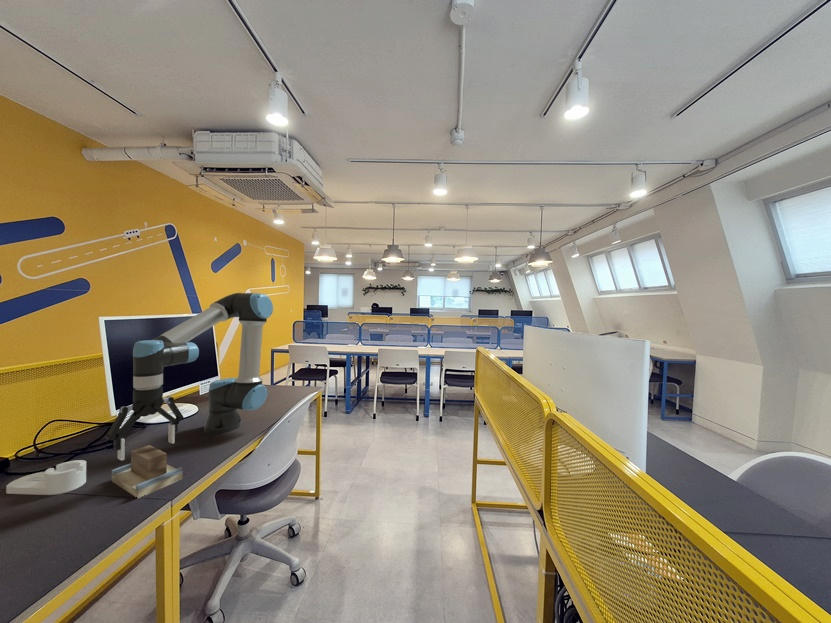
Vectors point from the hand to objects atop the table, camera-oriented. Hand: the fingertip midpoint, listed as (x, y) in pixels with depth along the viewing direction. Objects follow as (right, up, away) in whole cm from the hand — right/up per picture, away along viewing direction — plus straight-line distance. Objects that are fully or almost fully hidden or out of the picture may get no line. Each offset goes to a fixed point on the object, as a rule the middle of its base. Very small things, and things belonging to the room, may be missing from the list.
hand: (147, 450), depth 103 cm
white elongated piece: (-28, -10, -4) cm, 30 cm away
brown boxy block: (0, -8, 0) cm, 8 cm away
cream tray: (0, -10, 0) cm, 10 cm away
